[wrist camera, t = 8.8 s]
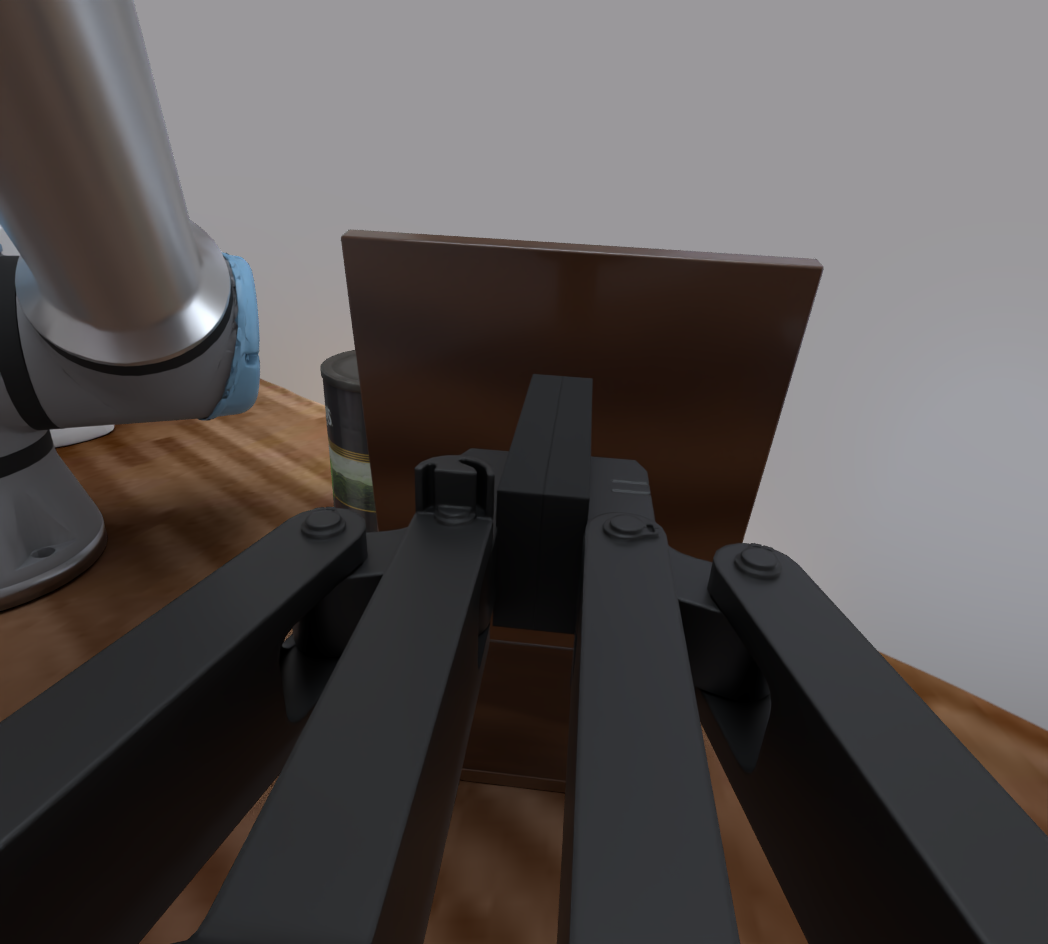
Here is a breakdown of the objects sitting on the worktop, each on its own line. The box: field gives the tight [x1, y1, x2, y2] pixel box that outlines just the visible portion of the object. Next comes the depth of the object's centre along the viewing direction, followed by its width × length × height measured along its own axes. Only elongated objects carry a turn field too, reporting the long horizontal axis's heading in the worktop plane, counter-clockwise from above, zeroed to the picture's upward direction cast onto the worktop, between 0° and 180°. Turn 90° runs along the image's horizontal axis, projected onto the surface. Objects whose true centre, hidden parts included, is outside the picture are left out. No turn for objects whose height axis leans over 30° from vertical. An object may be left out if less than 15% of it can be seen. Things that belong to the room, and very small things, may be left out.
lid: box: [341, 230, 824, 648], centre depth 25 cm, size 18×14×1 cm
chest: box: [460, 639, 573, 793], centre depth 40 cm, size 17×14×9 cm
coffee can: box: [321, 350, 378, 533], centre depth 56 cm, size 10×10×14 cm
